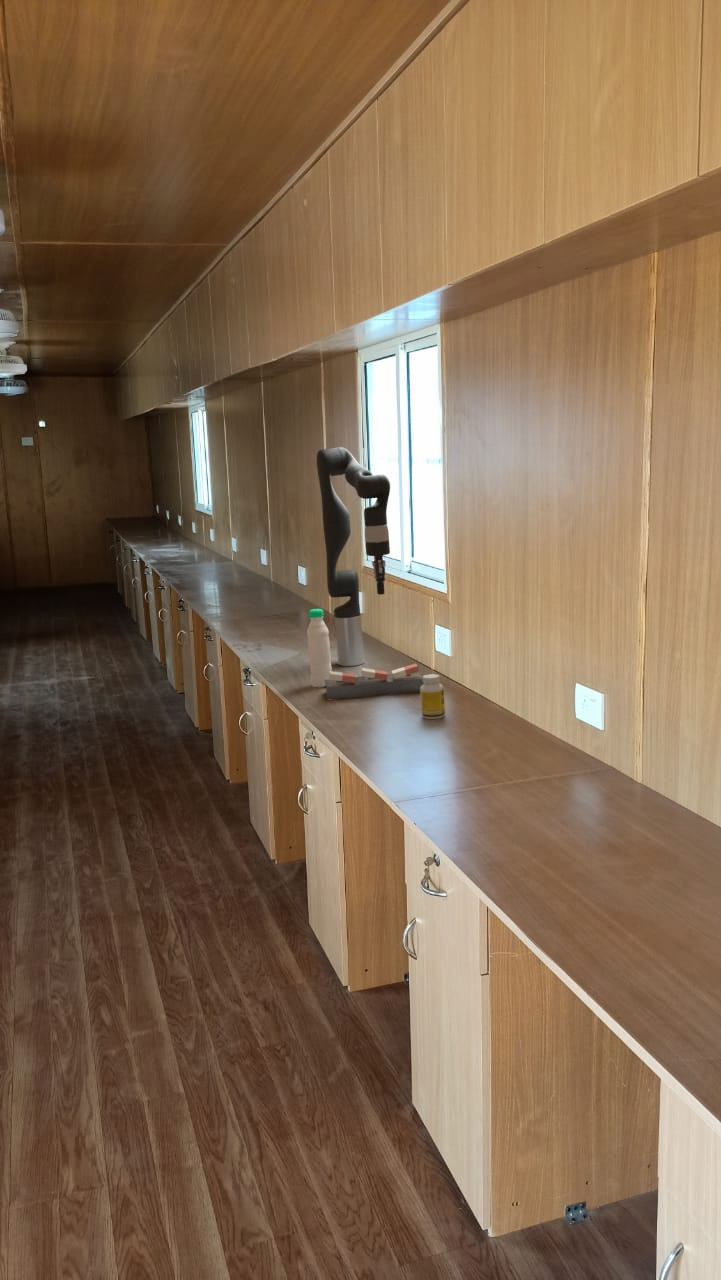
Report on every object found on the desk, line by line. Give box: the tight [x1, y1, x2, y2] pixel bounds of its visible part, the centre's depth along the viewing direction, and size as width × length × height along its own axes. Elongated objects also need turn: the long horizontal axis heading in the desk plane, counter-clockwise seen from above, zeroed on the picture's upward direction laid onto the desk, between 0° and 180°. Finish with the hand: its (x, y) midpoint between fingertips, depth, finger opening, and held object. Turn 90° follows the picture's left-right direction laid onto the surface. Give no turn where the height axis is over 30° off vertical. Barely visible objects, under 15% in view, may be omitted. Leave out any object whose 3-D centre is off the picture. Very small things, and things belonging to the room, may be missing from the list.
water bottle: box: [306, 608, 333, 688], centre depth 318 cm, size 7×7×25 cm
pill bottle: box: [419, 673, 446, 720], centre depth 274 cm, size 6×6×12 cm
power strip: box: [325, 670, 424, 701], centre depth 307 cm, size 10×30×4 cm, turn 94°
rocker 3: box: [391, 663, 420, 679], centre depth 305 cm, size 4×8×2 cm, turn 94°
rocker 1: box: [329, 670, 356, 683], centre depth 304 cm, size 4×8×2 cm, turn 94°
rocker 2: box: [360, 667, 388, 680], centre depth 304 cm, size 4×8×2 cm, turn 94°
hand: (381, 594), depth 312 cm, fingers closed
